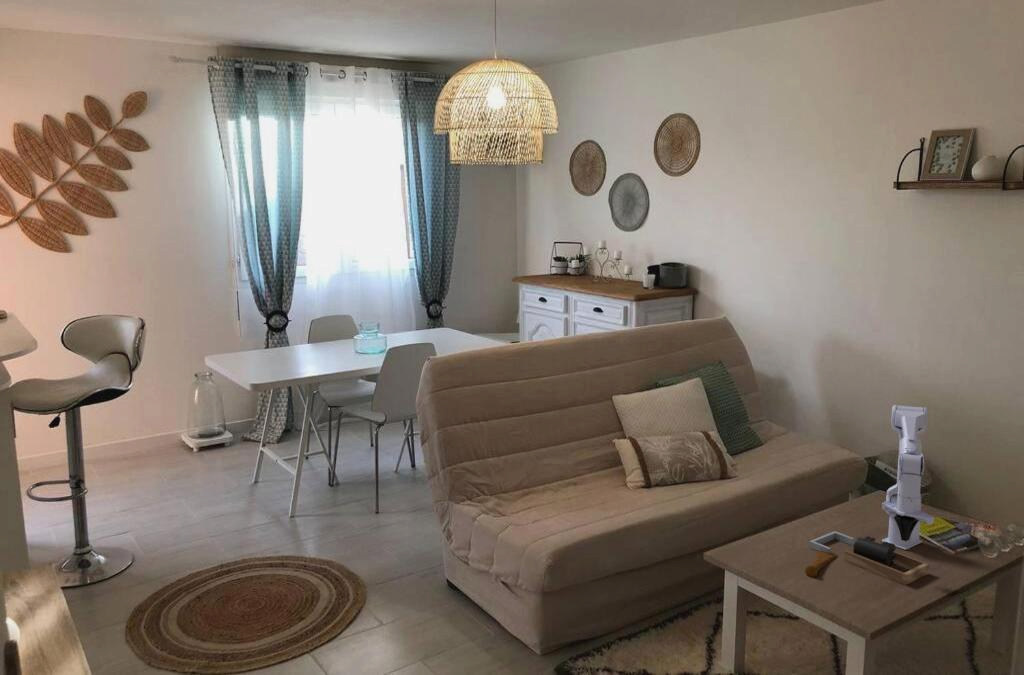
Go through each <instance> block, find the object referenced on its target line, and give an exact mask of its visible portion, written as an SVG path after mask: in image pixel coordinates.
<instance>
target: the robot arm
mask: <svg viewBox="0 0 1024 675" xmlns="http://www.w3.org/2000/svg"><path fill="white" fill-rule="evenodd" d="M928 413H929V412H928V408H927V407H925V406H924V407H921V406H907V405H896V404H893V405H892V407H891V418H890V419H891V421H890V422H891V430H892V431H894V432H896V433H897V434H898V439H899V444H898V458H897V475H896V476H897V477H896V483H895V484H894V485H892V486H890V487H889V488H888V489H887V490H886V496H885V501H884V502H882V503H881V509H882V510H883V511H885V512H886V514H887V515H888V516H889V519H888V520H889V521H888V535H887V537H886V538H882V540H881V542H882V543H884V542H888V543H892V544H894V545H895V546H896V548H899V549H902V550H908V549H910V548H912V547H915V546H917V545H919V544H922V542H923V541H922V540H920V532H921V531H920V529H921V522H923V523H926V524H927V525H929V526H930V525H932V524H933V525H934V522H935V517H934V516H933V515H930V514H928V513H927V512H924V511H922V495H921V483H922V482H921V481H922V476H923V474H924V470H925V459H924V458H925V457H924V454H923V453H922V442H921V440H920V439H919V438H918V435H919V434H923V433H924V432H925V430H926V429H927V426H928V416H929V414H928Z"/></svg>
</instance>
